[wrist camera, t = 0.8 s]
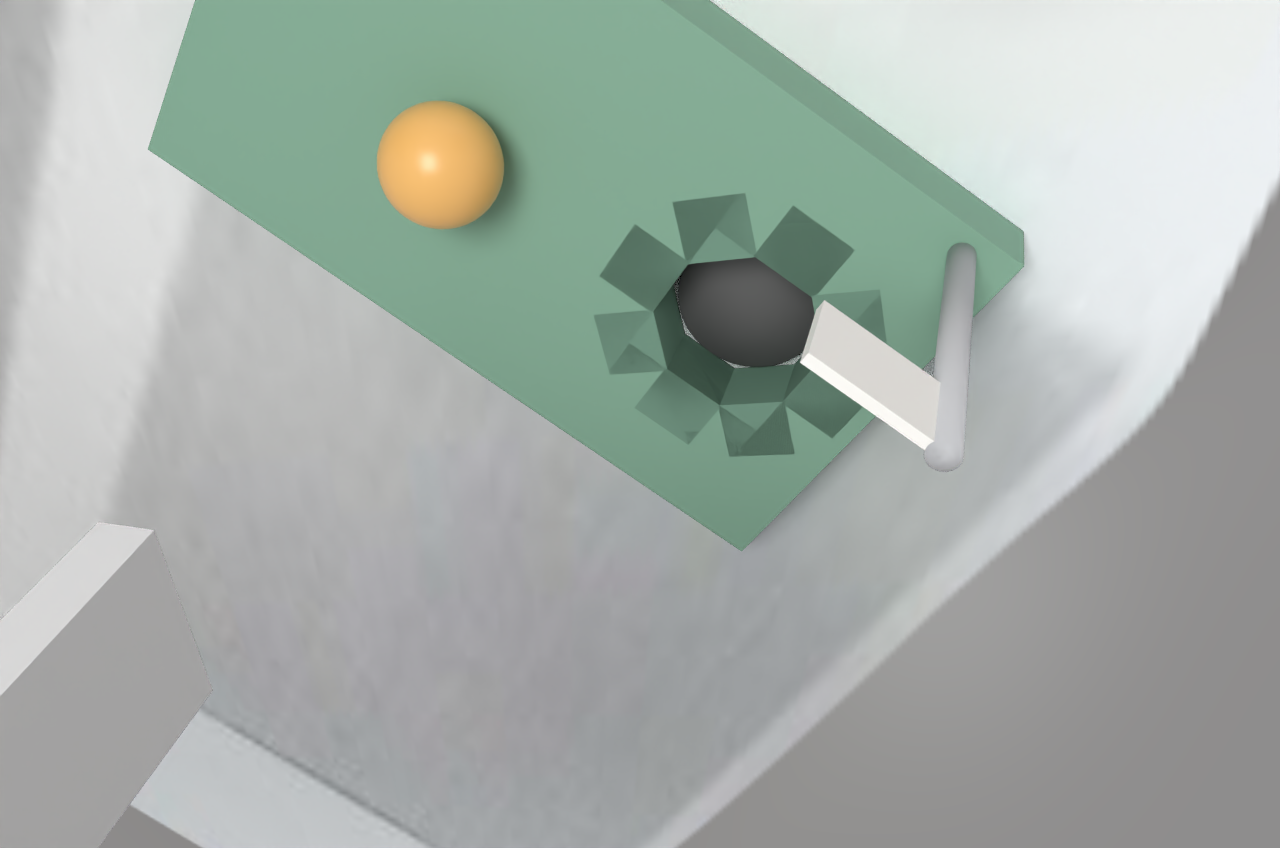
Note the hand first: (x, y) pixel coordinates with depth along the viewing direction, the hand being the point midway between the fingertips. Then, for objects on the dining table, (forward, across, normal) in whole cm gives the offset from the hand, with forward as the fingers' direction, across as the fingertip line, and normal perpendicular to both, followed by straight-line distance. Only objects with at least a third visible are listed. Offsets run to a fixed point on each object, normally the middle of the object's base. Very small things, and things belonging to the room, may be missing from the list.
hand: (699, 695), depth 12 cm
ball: (+20, -12, -2) cm, 23 cm away
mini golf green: (+24, -9, -4) cm, 26 cm away
